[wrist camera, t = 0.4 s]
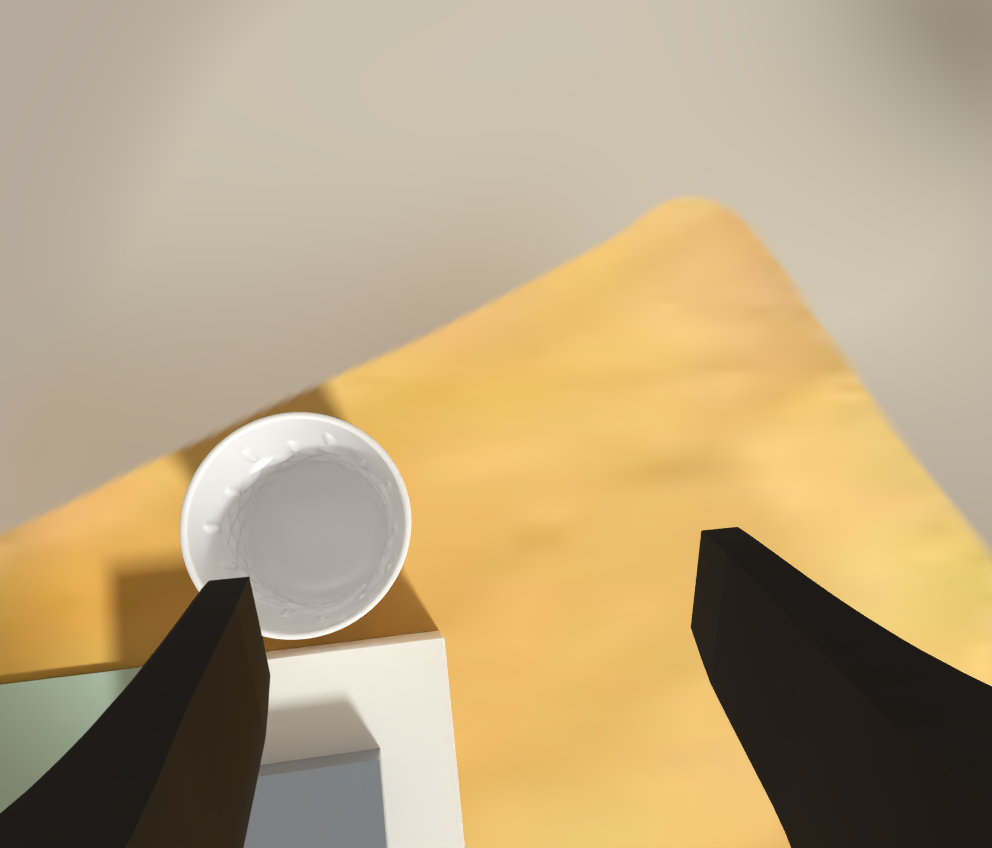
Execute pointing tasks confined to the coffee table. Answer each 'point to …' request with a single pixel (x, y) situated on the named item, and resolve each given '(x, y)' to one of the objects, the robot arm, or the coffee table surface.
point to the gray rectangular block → (320, 803)
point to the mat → (49, 723)
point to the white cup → (298, 521)
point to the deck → (375, 724)
